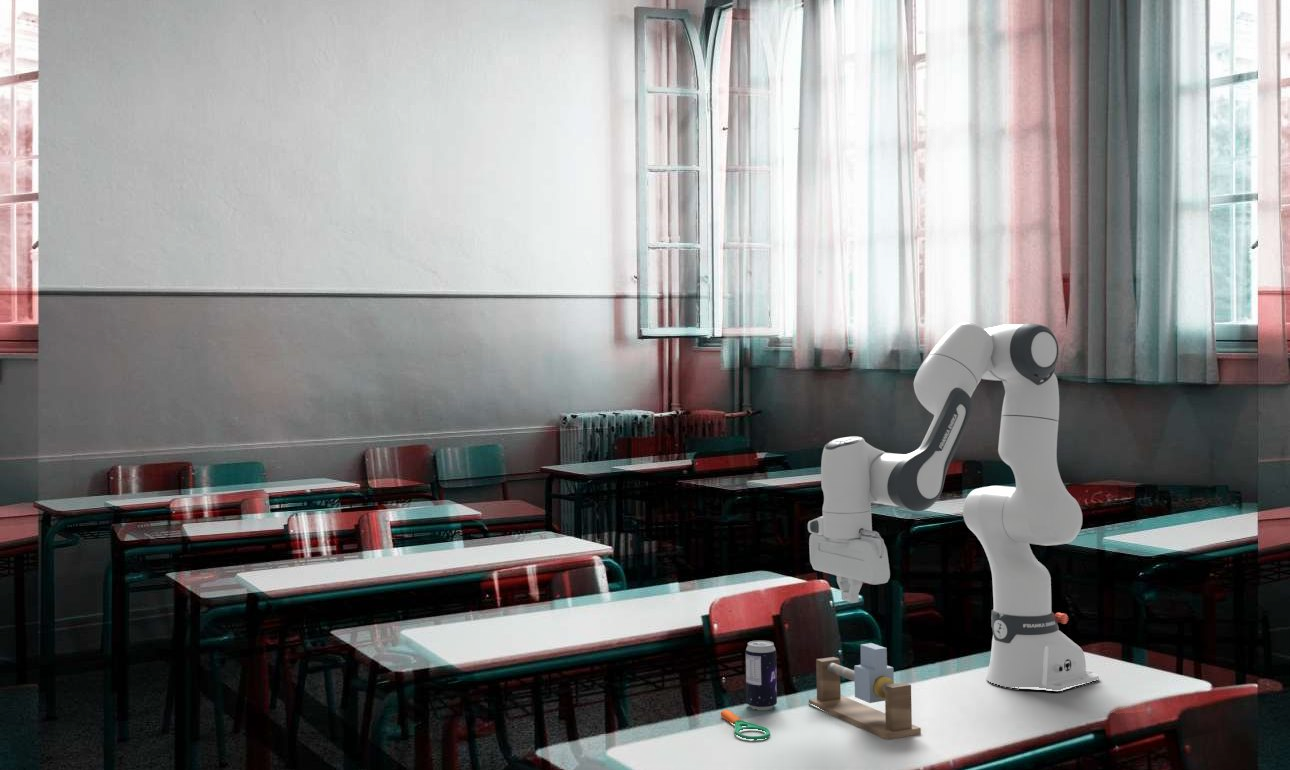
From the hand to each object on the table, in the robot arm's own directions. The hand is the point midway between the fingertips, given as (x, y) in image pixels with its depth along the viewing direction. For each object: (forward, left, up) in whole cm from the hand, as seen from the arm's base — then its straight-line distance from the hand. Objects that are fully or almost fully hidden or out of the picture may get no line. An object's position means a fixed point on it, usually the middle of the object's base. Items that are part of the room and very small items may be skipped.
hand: (850, 601), depth 209 cm
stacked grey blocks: (0, +7, -16) cm, 18 cm away
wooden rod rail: (0, +4, -21) cm, 21 cm away
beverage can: (+12, -11, -21) cm, 27 cm away
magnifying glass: (+22, -2, -21) cm, 31 cm away
